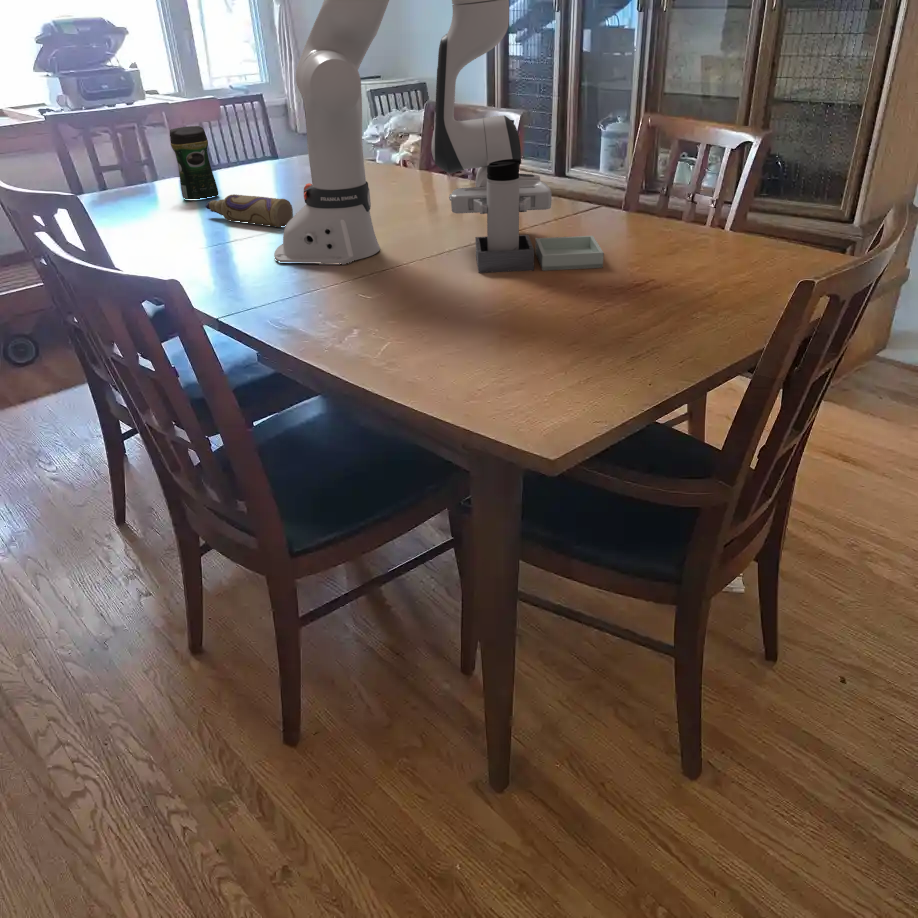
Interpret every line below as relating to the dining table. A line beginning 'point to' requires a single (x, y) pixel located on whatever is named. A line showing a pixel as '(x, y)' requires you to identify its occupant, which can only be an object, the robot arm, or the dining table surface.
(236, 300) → the dining table surface
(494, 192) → the travel mug
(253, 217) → the decorative bottle
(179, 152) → the coffee jar
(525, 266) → the collar
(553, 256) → the tray
